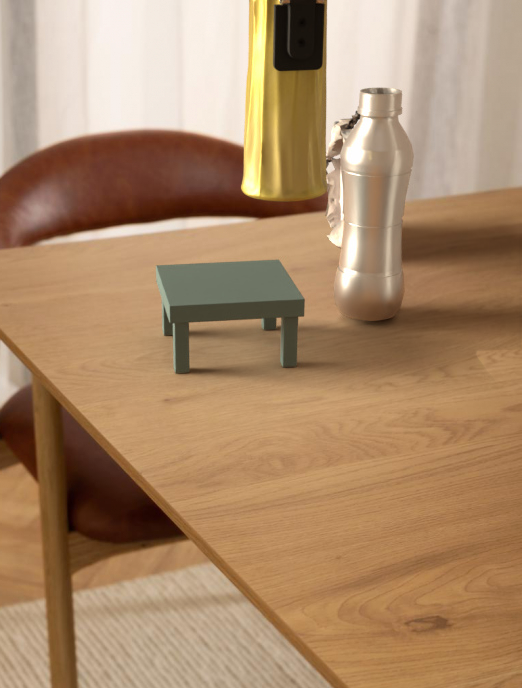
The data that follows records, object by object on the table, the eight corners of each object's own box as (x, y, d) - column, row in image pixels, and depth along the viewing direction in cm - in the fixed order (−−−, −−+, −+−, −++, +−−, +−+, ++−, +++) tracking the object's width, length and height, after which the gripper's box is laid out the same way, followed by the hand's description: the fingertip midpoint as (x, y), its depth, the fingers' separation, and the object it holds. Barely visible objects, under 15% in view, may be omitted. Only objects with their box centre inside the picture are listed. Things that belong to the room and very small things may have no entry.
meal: (380, 264, 123) (389, 136, 117) (339, 265, 123) (346, 136, 117) (357, 226, 136) (364, 108, 130) (320, 226, 136) (325, 109, 130)
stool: (277, 323, 108) (279, 259, 105) (302, 368, 98) (305, 298, 95) (157, 329, 107) (155, 265, 104) (170, 375, 97) (169, 305, 94)
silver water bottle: (337, 329, 106) (348, 98, 97) (327, 305, 112) (337, 85, 103) (408, 328, 106) (427, 97, 97) (395, 304, 112) (411, 84, 103)
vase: (295, 178, 88) (301, -32, 81) (344, 195, 83) (354, -27, 76) (225, 188, 85) (224, -28, 78) (271, 207, 80) (275, -22, 74)
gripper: (396, -267, 64) (377, 81, 73) (320, -242, 79) (311, 44, 88) (261, -267, 63) (257, 85, 72) (209, -241, 78) (211, 48, 87)
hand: (287, 60), depth 80 cm, fingers closed on vase, 5 cm apart
